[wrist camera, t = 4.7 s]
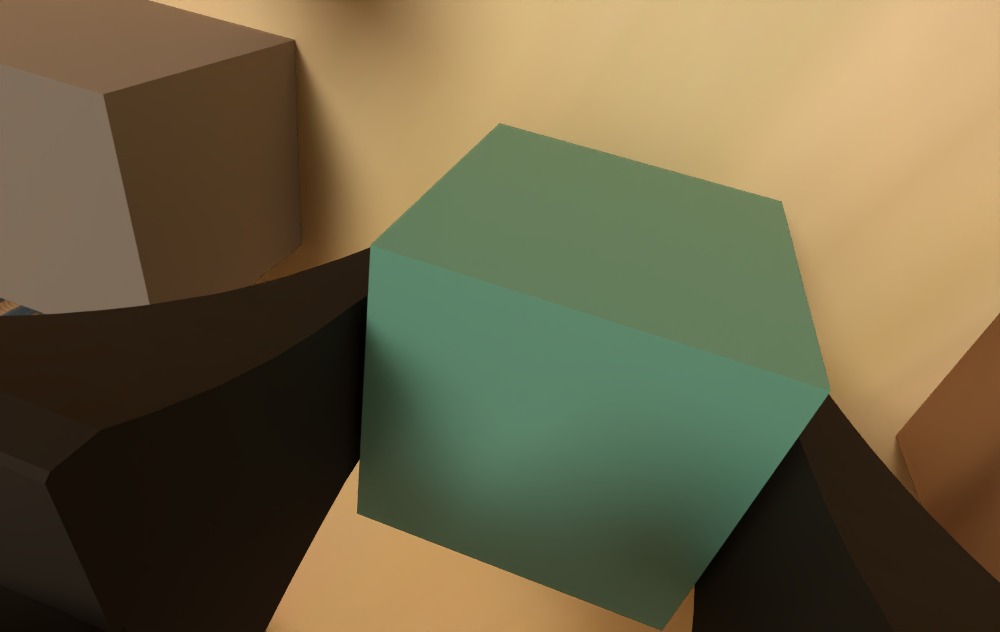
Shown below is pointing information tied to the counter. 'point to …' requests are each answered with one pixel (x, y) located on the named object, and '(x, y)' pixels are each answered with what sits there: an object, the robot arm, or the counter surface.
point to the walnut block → (962, 451)
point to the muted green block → (582, 368)
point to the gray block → (141, 154)
